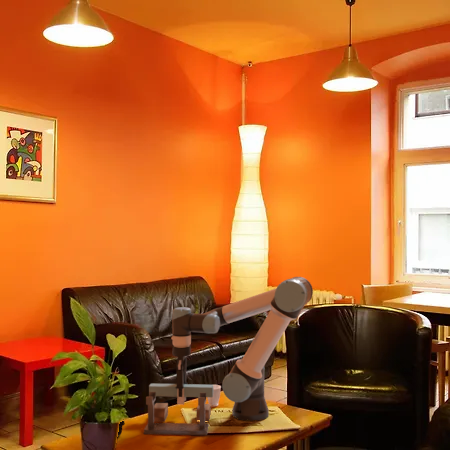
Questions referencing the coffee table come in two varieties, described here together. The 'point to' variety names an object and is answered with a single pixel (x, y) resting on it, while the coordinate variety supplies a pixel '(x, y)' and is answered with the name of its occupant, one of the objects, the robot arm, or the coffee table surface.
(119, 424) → the controller
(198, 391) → the rail
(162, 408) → the rest blocks
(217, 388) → the cup
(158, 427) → the stand
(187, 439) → the coffee table surface
